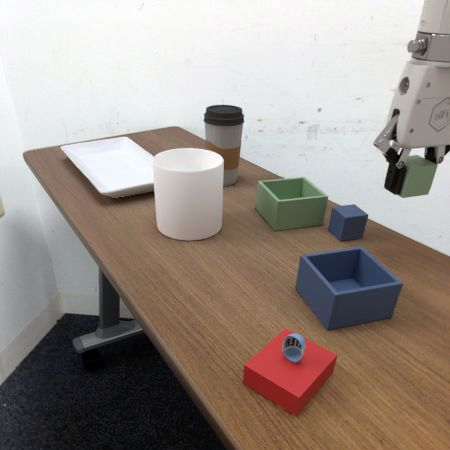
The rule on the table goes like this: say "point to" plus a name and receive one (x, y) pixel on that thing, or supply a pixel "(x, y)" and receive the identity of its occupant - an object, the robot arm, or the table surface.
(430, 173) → the sage block
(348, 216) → the slate block
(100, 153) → the tray
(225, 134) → the coffee cup
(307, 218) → the sage bin
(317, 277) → the slate bin
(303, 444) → the table surface
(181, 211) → the cup
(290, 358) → the red rectangular block
